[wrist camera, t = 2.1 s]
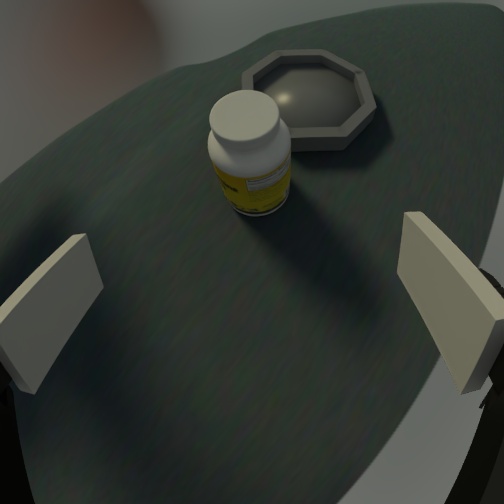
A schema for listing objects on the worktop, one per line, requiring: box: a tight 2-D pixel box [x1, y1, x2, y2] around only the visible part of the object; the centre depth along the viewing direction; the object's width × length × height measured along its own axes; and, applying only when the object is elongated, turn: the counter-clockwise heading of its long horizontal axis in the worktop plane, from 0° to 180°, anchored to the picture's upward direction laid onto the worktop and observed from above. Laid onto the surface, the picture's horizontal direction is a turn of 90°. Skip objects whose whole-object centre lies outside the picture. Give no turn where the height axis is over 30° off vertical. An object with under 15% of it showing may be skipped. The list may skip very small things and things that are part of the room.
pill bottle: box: [208, 90, 291, 216], centre depth 25 cm, size 6×6×11 cm
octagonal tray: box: [242, 49, 377, 152], centre depth 32 cm, size 14×14×2 cm
